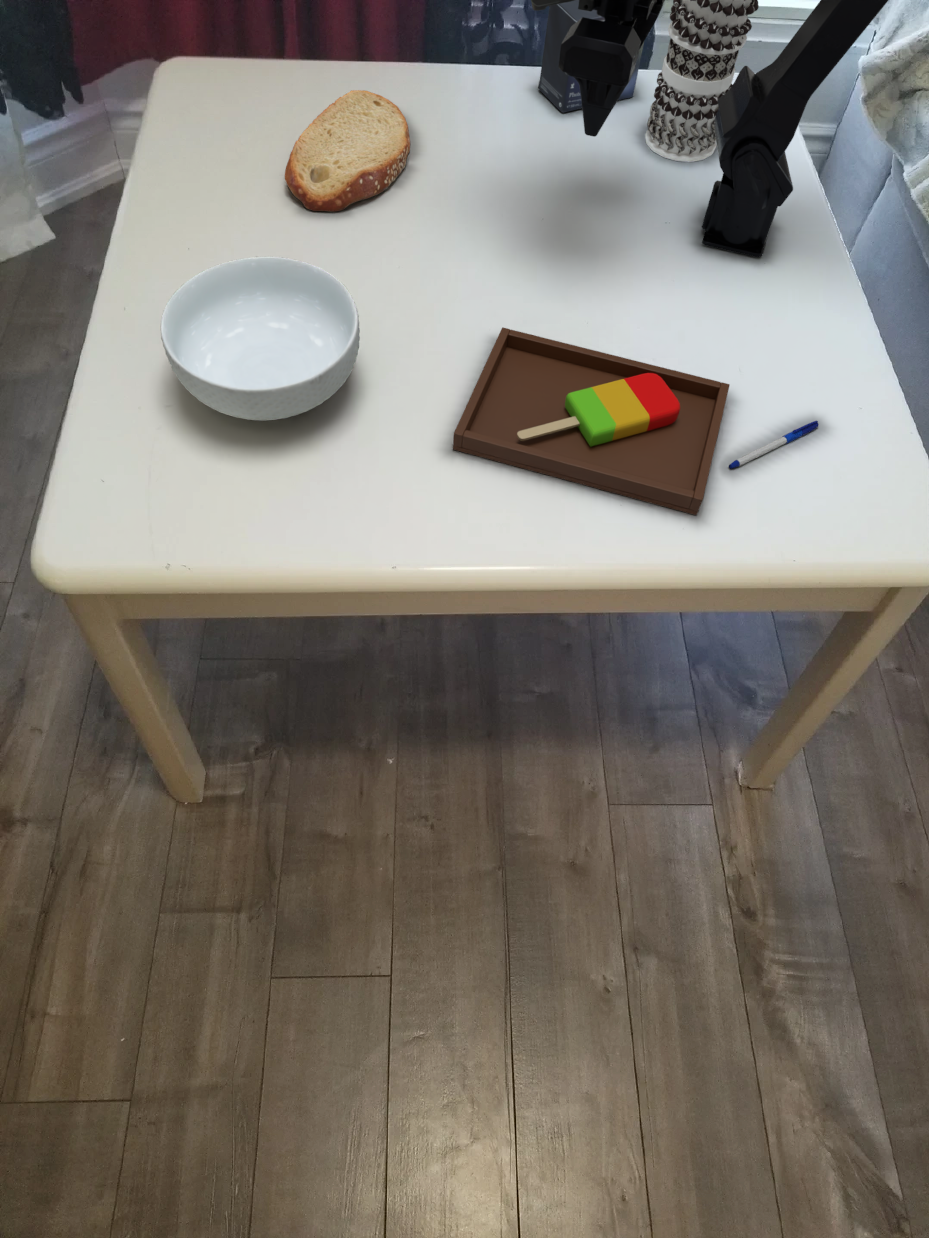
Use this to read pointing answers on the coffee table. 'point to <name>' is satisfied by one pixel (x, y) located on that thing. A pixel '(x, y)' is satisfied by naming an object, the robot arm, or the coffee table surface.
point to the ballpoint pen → (775, 444)
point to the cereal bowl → (261, 336)
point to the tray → (535, 395)
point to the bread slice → (348, 152)
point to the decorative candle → (696, 75)
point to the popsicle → (615, 410)
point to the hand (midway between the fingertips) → (601, 111)
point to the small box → (552, 78)
